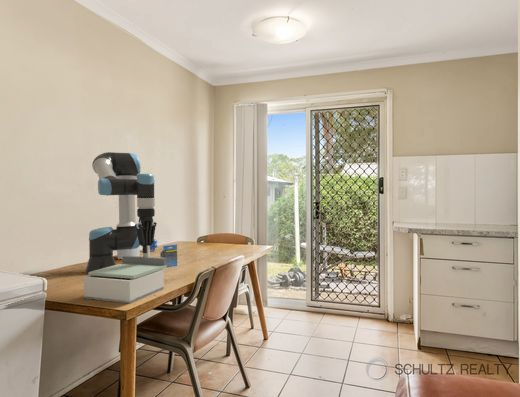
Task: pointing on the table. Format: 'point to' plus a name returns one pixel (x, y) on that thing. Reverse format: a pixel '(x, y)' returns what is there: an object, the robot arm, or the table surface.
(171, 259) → the label tape cartridge
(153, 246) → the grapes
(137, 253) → the utensil holder
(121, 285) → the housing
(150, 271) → the lid
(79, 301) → the table surface
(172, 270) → the table surface
